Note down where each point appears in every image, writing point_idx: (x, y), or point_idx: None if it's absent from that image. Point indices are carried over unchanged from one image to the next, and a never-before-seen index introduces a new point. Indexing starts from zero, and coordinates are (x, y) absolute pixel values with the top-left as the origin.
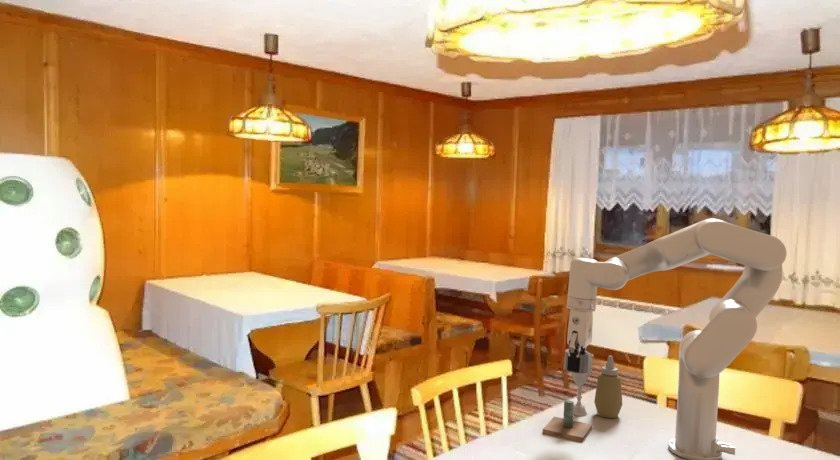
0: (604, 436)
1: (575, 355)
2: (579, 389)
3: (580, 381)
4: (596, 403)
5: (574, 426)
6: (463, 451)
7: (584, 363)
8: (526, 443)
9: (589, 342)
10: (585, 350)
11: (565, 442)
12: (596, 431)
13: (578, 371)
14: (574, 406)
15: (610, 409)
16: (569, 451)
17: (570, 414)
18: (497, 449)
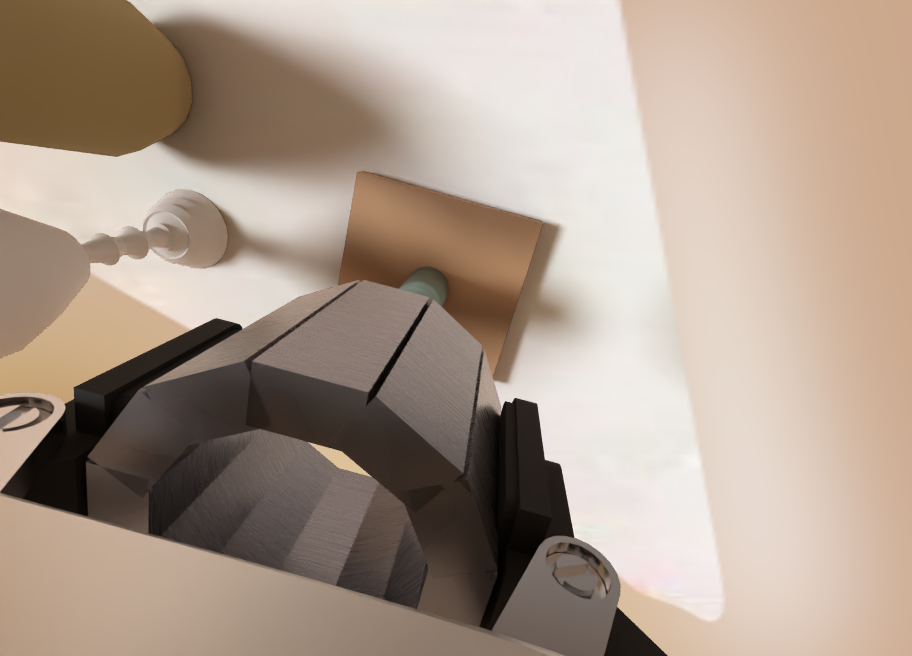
0: (440, 113)
1: (641, 640)
2: (105, 252)
3: (76, 262)
4: (143, 145)
5: (414, 258)
6: (718, 605)
7: (460, 384)
8: (608, 434)
9: (26, 557)
10: (56, 413)
11: (562, 294)
12: (390, 151)
13: (534, 407)
14: (186, 256)
15: (168, 63)
16: (657, 279)
17: (437, 298)
18: (684, 519)
